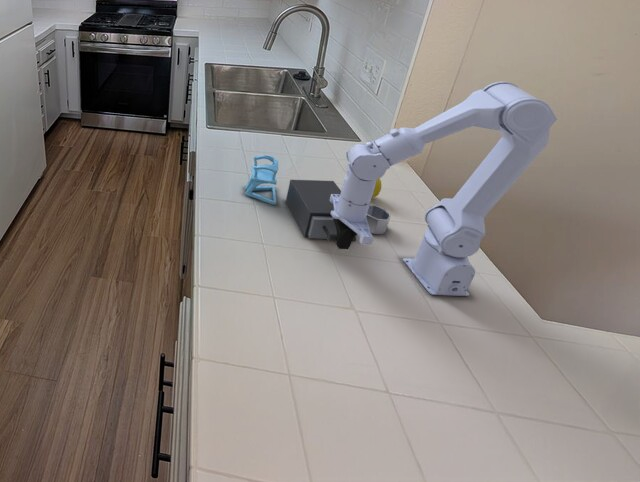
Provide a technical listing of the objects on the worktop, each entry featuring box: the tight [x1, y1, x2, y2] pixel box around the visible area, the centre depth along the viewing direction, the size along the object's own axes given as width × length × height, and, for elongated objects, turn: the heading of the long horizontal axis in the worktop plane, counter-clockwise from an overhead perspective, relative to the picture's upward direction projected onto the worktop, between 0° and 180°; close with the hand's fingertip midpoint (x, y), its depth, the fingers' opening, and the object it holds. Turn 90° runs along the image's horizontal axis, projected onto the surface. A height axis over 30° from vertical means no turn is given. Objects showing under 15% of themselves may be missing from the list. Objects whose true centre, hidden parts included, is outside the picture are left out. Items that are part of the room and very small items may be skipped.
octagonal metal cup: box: [366, 204, 392, 235], centre depth 97 cm, size 6×6×5 cm
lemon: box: [371, 178, 382, 199], centre depth 108 cm, size 6×6×8 cm
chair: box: [244, 154, 279, 206], centre depth 108 cm, size 8×8×12 cm
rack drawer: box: [308, 215, 357, 243], centre depth 96 cm, size 17×10×6 cm, turn 178°
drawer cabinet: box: [285, 179, 341, 239], centre depth 99 cm, size 14×12×8 cm
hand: (341, 246), depth 88 cm, fingers closed, pressing on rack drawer
